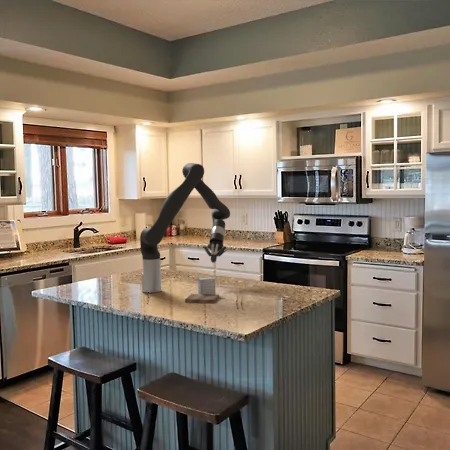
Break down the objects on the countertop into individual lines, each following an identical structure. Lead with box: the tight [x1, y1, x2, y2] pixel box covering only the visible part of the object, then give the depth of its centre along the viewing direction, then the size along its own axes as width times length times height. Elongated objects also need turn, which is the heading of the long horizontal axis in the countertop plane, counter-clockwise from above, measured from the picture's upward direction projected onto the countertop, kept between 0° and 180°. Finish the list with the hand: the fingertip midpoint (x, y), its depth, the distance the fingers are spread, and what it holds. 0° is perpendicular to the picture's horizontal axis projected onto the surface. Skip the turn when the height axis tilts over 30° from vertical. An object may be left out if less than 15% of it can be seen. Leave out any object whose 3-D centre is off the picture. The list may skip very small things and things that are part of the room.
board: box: [184, 293, 220, 304], centre depth 237 cm, size 14×11×2 cm
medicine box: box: [197, 276, 217, 295], centre depth 246 cm, size 8×4×9 cm, turn 109°
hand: (213, 261), depth 262 cm, fingers closed
